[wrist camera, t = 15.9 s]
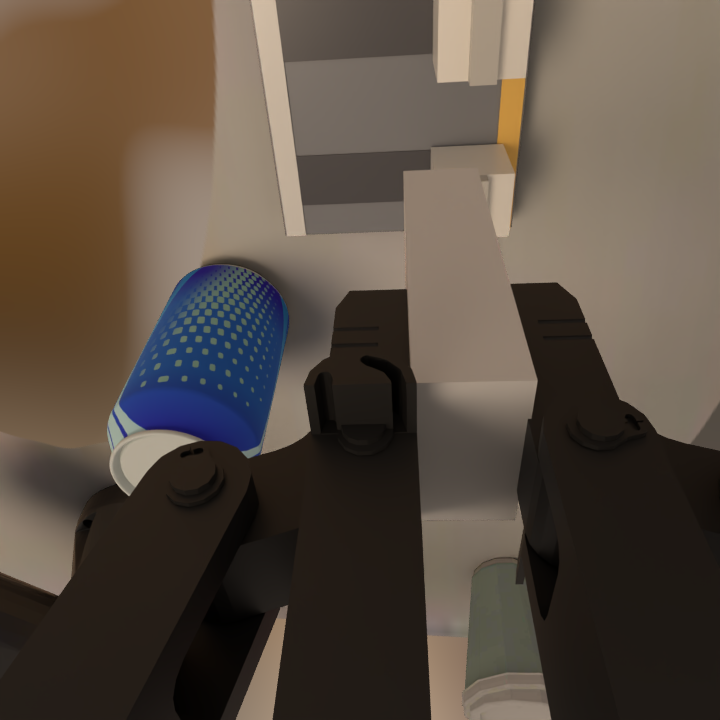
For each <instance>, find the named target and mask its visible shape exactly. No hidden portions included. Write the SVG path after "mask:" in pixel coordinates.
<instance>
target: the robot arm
mask: <svg viewBox="0 0 720 720" xmlns="http://www.w3.org/2000/svg"><path fill="white" fill-rule="evenodd" d="M403 180H404V236H405V289H399V290H367V291H349V293H348V294H347V295H346V296H345V298H344V299H343V300H342V301H341V303H340V304H339V305H338V306H337V307H336V311H335V319H334V327H333V328H334V332H333V335H332V343H331V344H332V348H331V351H330V357H329V358H326V359H324V360H322V361H321V362H320V363H319V364H318V365H317V366H315V367H314V368H313V369H312V370H311V371H310V372H309V375H308V377H307V379H306V381H305V383H304V391H305V397H306V404H307V410H308V416H309V422H310V428H311V431H310V432H309V433H308V434H307V435H306V436H305V437H304V438H302V439H300V440H299V441H297V442H295V443H294V444H292V445H290V446H287V447H285V448H282V449H279V450H276V451H273V452H269V453H266V454H262V455H258V456H255V457H251V458H247V457H246V456H245V455H244V454H243V453H242V452H241V451H240V450H239V449H238V448H237V447H235V446H232V445H230V444H227V443H224V442H222V441H197V442H194V443H190V444H186V445H182V446H179V447H177V448H176V449H174V450H172V451H170V452H169V453H167V454H165V455H163V456H162V457H160V458H159V459H158V460H157V462H156V463H155V464H154V465H153V466H152V467H151V468H150V469H149V470H148V471H147V472H146V473H145V475H144V476H143V478H142V479H141V480H140V482H139V483H138V485H137V486H136V487H135V489H134V490H133V492H132V493H131V495H130V496H128V495H127V494H126V493H125V492H124V491H123V490H122V489H121V488H120V487H119V486H118V485H115V486H111V487H108V488H106V489H103V490H101V491H99V492H98V493H96V494H95V495H94V496H92V497H91V498H90V499H89V501H88V502H87V504H86V505H85V508H84V510H83V512H82V514H81V516H80V518H79V520H78V523H77V526H76V530H75V540H74V551H73V563H72V575H71V580H70V581H69V583H68V584H67V585H66V587H65V588H64V590H63V591H62V592H61V594H60V595H59V596H57V595H55V594H53V593H50V592H48V591H45V590H43V589H40V588H38V587H35V586H33V585H30V584H28V583H25V582H23V581H21V580H18V579H16V578H13V577H11V576H8V575H6V574H3V573H1V572H0V720H236V717H237V714H238V712H239V710H240V707H241V705H242V702H243V699H244V697H245V695H246V692H247V690H248V687H249V685H250V682H251V680H252V677H253V675H254V672H255V670H256V667H257V665H258V662H259V660H260V657H261V655H262V652H263V650H264V647H265V645H266V643H267V640H268V637H269V635H270V633H271V630H272V627H273V625H274V623H275V620H276V618H277V615H278V613H279V610H280V607H283V606H286V605H288V611H287V618H286V625H285V633H284V640H283V648H282V655H281V662H280V669H279V678H278V684H277V691H276V699H275V706H274V713H273V720H431V706H430V686H429V667H428V666H429V665H428V645H427V625H426V604H425V584H424V563H423V543H422V523H421V520H515V518H516V511H517V505H518V500H519V505H520V510H521V515H522V520H523V525H524V529H523V534H522V540H521V545H520V551H519V557H518V562H517V568H516V582H515V584H523V583H524V578H525V580H526V585H527V591H528V596H529V602H530V607H531V612H532V618H533V623H534V629H535V634H536V640H537V645H538V650H539V656H540V661H541V667H542V672H543V678H544V683H545V688H546V694H547V699H548V705H549V710H550V716H551V720H720V451H718V450H713V449H709V448H704V447H699V446H695V445H690V444H686V443H682V442H679V441H675V440H672V439H668V438H666V437H664V436H661V435H659V434H657V432H656V430H655V428H654V427H653V426H652V424H651V423H650V422H649V420H648V419H647V418H646V416H645V415H644V414H643V413H641V412H640V411H638V410H637V409H635V408H634V407H633V406H631V405H630V404H628V403H627V402H624V401H621V400H619V397H618V395H617V393H616V390H615V388H614V386H613V383H612V381H611V379H610V376H609V374H608V372H607V369H606V367H605V364H604V362H603V360H602V357H601V355H600V353H599V350H598V348H597V346H596V343H595V341H594V339H592V334H591V332H590V329H589V327H588V325H587V323H585V318H584V315H583V313H582V310H581V308H580V306H579V303H578V301H577V299H576V298H575V297H574V296H572V295H571V294H570V293H569V292H568V291H566V290H565V289H564V288H563V287H562V286H560V285H559V284H558V283H526V284H510V281H509V278H508V274H507V271H506V267H505V264H504V260H503V257H502V253H501V250H500V246H499V242H498V239H497V235H496V232H495V228H494V225H493V221H492V218H491V214H490V211H489V207H488V204H487V200H486V197H485V193H484V190H483V186H482V182H481V179H480V175H479V172H478V168H460V169H437V170H415V171H403Z"/></svg>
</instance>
